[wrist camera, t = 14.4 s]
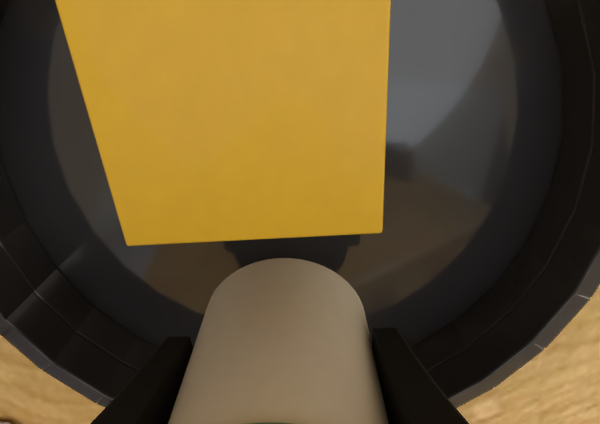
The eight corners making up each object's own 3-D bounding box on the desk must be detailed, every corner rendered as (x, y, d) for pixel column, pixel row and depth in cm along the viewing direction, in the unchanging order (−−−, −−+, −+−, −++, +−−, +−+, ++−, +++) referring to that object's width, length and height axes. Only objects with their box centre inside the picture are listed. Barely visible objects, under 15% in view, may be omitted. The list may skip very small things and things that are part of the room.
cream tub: (367, 380, 13) (409, 611, 8) (216, 386, 13) (161, 616, 8) (370, 249, 11) (431, 452, 6) (189, 258, 11) (89, 463, 6)
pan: (514, 366, 16) (560, 439, 13) (88, 383, 17) (45, 457, 14) (661, -242, 9) (845, -378, 6) (-143, -173, 9) (-349, -265, 6)
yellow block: (345, 137, 12) (383, 234, 6) (206, 145, 12) (126, 247, 6) (342, -95, 9) (400, -263, 4) (167, -81, 9) (-14, -226, 4)
